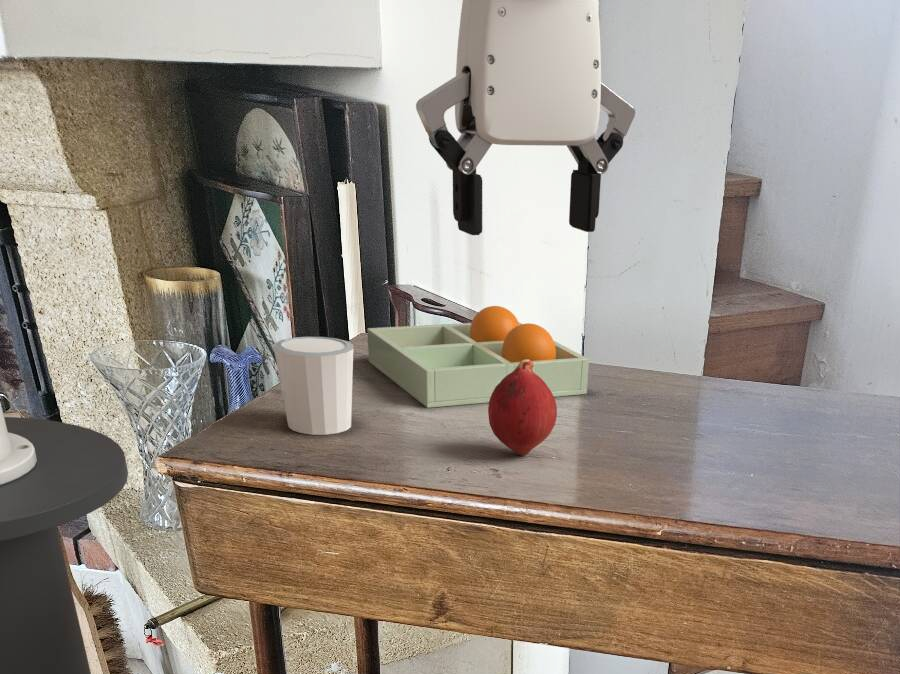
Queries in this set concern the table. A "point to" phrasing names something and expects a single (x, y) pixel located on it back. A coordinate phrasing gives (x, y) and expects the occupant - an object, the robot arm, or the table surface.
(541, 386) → the onion
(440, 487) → the table surface
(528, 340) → the clementine
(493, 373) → the tray
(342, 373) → the white cup
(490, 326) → the clementine
